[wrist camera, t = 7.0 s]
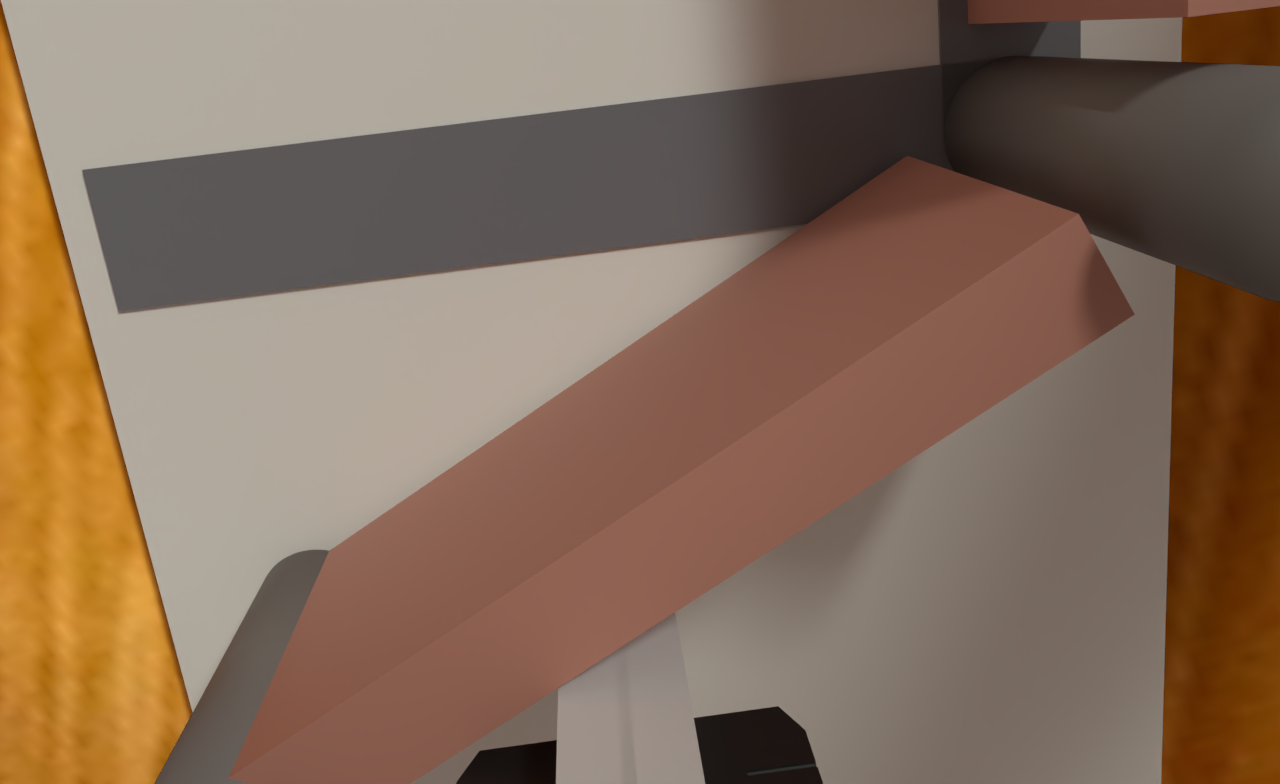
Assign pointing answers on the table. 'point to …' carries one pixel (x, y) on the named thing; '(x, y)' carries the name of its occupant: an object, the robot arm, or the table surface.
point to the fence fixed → (1133, 141)
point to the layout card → (595, 332)
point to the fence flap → (650, 481)
